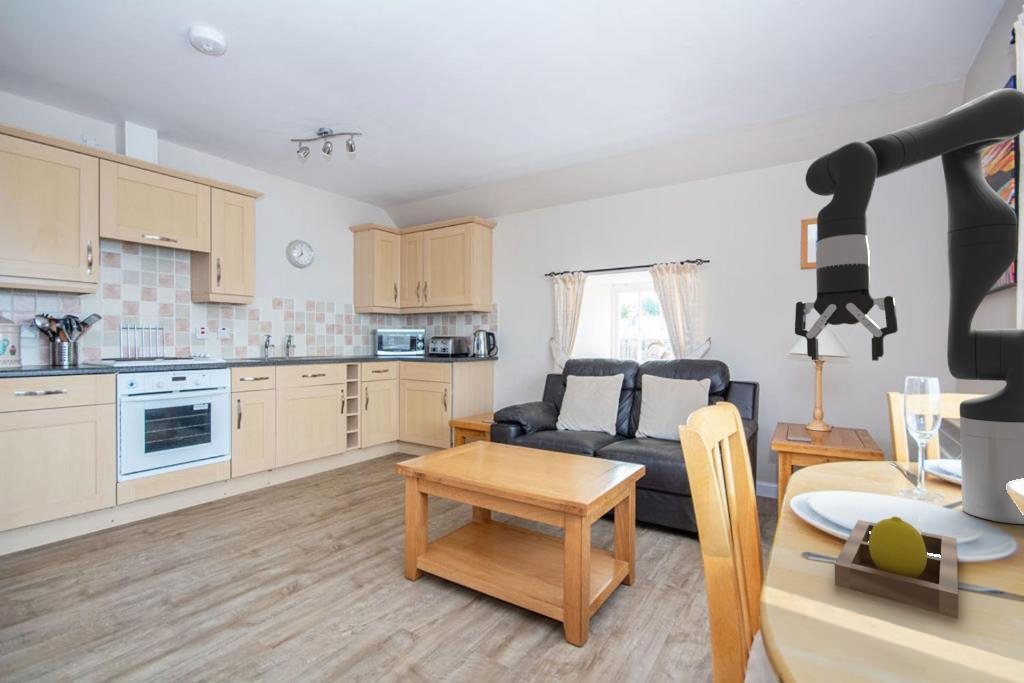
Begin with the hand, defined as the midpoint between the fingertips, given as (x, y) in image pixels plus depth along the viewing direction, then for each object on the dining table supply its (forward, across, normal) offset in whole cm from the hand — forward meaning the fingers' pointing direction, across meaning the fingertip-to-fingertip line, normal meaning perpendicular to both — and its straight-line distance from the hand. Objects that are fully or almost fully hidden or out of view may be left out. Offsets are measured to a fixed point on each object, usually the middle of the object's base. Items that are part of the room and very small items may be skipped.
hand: (844, 360), depth 82 cm
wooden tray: (+28, +8, -19) cm, 35 cm away
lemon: (+27, +8, -23) cm, 36 cm away
